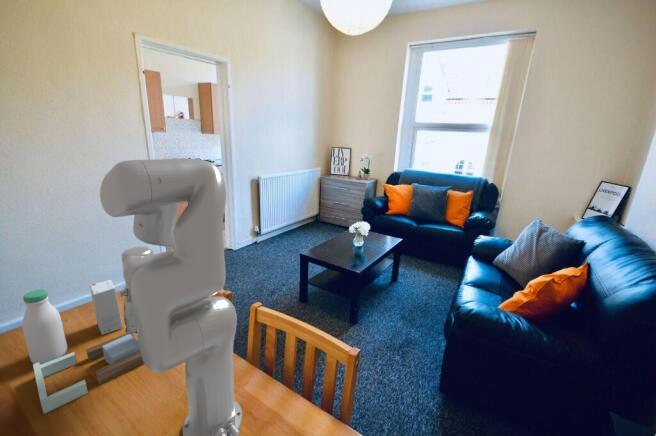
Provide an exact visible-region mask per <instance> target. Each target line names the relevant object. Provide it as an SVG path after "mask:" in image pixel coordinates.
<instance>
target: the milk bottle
mask: <svg viewBox="0 0 656 436" xmlns="http://www.w3.org/2000/svg"><path fill="white" fill-rule="evenodd" d="M22 298H23V301H24V305H26V308H25V313H24V316H23V318H22V321H21V322H22V323H21V324H22V331H23V335H24V340H25V344H26V348H27V351H28V356H29V359H30V362H31V363H32V364H35V363H38V362H39V363H40V365H42V364H44V363H47V362H49V361H52V360H54V359H57V358H60V357H62V356H65V355H66V353H67V351H68V343H67V339H66V335H65V330H64V325H63V322H62V318H61V314H60V312H59V311H58V309H57V308H56V307H54V305H52V304H51V303H50V301H49V293H48V291H47V290H46V289H34V290H33V291H32V290H31V291H29V292H26V293H25V294H24V295H23V297H22Z"/></svg>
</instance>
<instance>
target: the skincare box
mask: <svg viewBox="0 0 656 436" xmlns="http://www.w3.org/2000/svg"><path fill="white" fill-rule="evenodd" d="M89 289H90V294H91V299H92V304H93V308H94V313H95V314H94V315H95V319H96V323H97V326H98V328H99V331H100V333H101V336H103V335H107V334H109V333H113V332H117V331H118V330H121V329H123V327H124V326H123V321H122V316H121V312H120V307H119V303H118V297H117V291H116V288H115V285H114V283H113V281H112V279H108V280H104V281H100V282H96V283H92V284H90V285H89Z"/></svg>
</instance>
